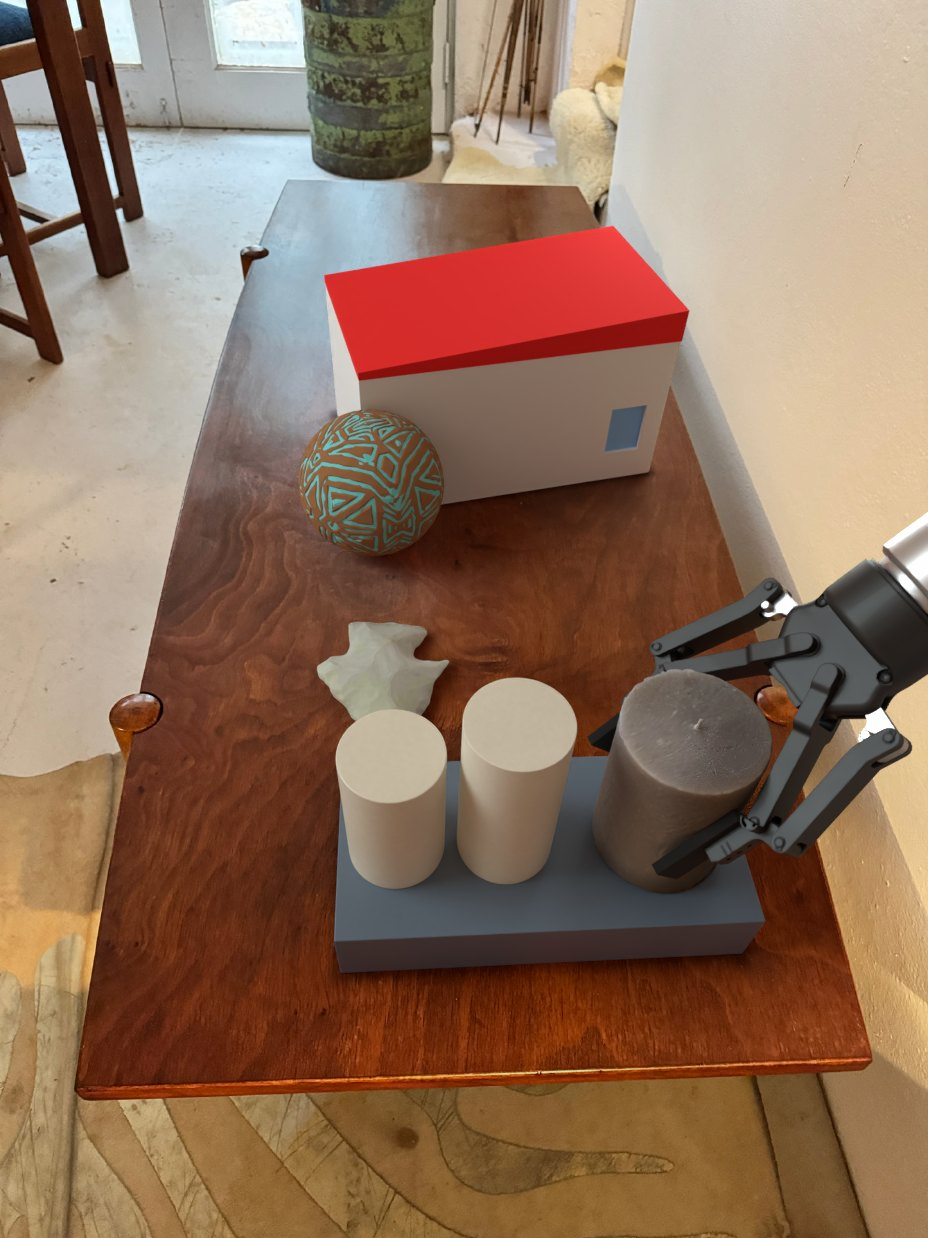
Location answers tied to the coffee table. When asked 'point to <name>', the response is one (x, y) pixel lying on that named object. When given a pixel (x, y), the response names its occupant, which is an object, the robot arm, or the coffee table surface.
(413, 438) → the decorative sphere
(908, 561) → the robot arm
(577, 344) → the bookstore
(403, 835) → the short ivory candle
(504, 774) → the tall ivory candle
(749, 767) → the pillar candle
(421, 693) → the arrowhead
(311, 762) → the coffee table surface
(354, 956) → the plinth
